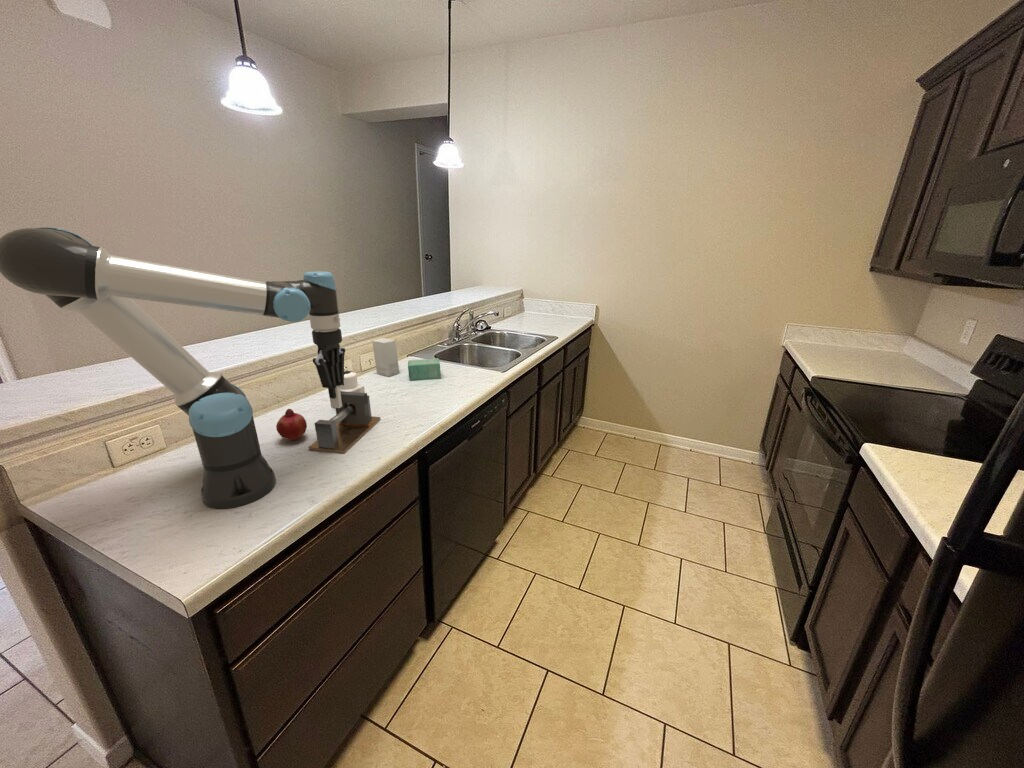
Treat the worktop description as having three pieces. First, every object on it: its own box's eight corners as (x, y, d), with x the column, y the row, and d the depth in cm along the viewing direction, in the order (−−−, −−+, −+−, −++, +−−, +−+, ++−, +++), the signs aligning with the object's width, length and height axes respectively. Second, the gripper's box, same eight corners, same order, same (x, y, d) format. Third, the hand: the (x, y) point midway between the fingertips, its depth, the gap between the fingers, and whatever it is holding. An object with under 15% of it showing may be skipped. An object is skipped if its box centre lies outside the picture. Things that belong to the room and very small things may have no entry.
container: (334, 408, 147) (329, 374, 143) (351, 401, 154) (347, 368, 149) (350, 412, 144) (345, 377, 139) (366, 405, 150) (362, 371, 146)
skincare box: (399, 373, 184) (396, 339, 179) (388, 377, 179) (385, 342, 173) (386, 370, 188) (383, 337, 183) (375, 374, 183) (371, 340, 178)
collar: (366, 425, 130) (363, 395, 127) (337, 422, 132) (333, 393, 128) (370, 421, 133) (366, 393, 129) (341, 419, 134) (337, 390, 131)
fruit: (315, 435, 128) (309, 405, 125) (295, 447, 121) (289, 416, 117) (293, 431, 130) (287, 402, 127) (273, 443, 123) (266, 412, 119)
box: (408, 375, 182) (407, 359, 179) (439, 373, 185) (438, 357, 182) (409, 381, 175) (408, 364, 172) (441, 379, 178) (440, 362, 176)
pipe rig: (344, 453, 117) (340, 425, 114) (309, 450, 119) (304, 422, 116) (380, 419, 139) (377, 395, 136) (350, 417, 140) (347, 393, 137)
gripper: (325, 334, 108) (336, 416, 116) (350, 325, 120) (359, 399, 128) (299, 333, 109) (311, 414, 117) (327, 323, 121) (336, 398, 129)
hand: (336, 406), depth 122 cm, fingers closed
